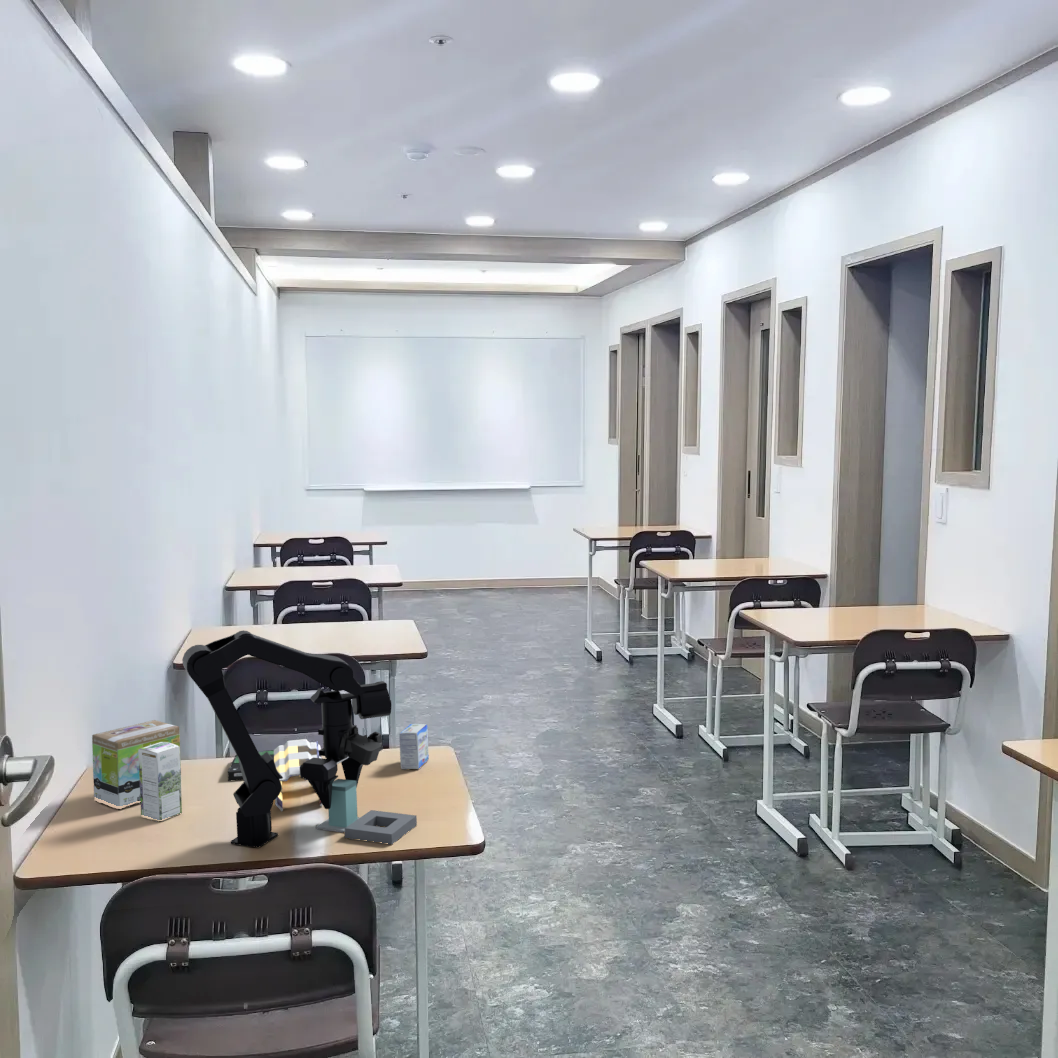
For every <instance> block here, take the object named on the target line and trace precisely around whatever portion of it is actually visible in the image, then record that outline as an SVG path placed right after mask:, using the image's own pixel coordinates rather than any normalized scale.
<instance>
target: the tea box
mask: <svg viewBox="0 0 1058 1058" xmlns="http://www.w3.org/2000/svg"><path fill="white" fill-rule="evenodd" d="M91 736H92V737H91V743H92V744H91V746H92V773H93V774H92V775H93V777H92V779H93V798H94V797H96V798H98V799H101V800H104V801H106V802H108V803H111V804H114V805H116V806H123V805H128V804H130V803H133V802H136V801H140V778H139V755H138V750H139V749H141V748H144V747H147V746H150V745H153V744H156V743H159V742H168V743H172V744H175V745H178V746H179V747H180V748H181V736H180V726H177V725H175V724H171V723H166V722H163V721H159V720H156V719H153V720H149V721H144V722H139V723H136V724H132V725H128V726H123V727H120V728H115V729H111V730H106V731H103V732H99V733H98V732H97V733H94V734H92V735H91ZM181 762H182V761H181V759H180V773H181V774H182V763H181Z"/></svg>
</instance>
